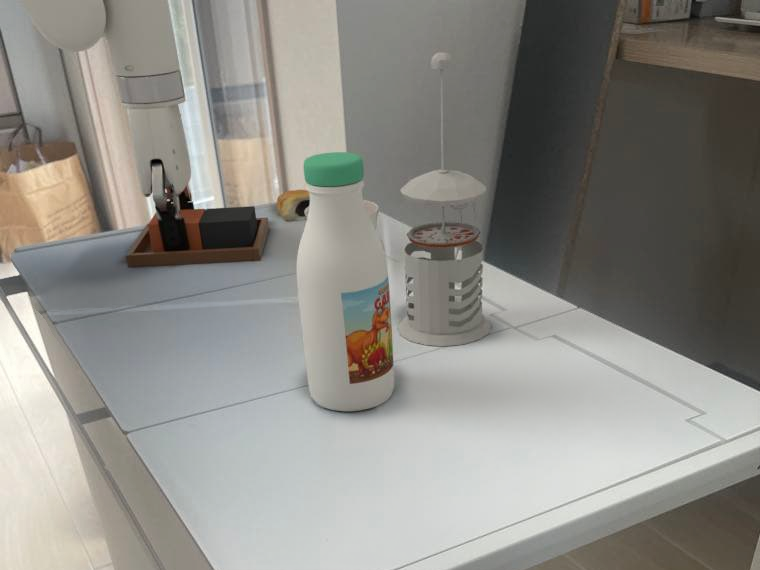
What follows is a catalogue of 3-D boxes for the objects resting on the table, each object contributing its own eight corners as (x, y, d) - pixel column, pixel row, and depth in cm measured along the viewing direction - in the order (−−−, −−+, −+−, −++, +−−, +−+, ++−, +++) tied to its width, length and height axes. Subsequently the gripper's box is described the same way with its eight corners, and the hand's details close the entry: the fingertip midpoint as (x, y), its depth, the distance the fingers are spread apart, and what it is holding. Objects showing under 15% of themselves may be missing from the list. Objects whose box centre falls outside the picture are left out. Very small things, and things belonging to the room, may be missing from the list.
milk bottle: (319, 420, 72) (291, 173, 60) (302, 382, 78) (274, 152, 66) (405, 405, 74) (394, 162, 62) (382, 370, 80) (368, 142, 68)
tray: (129, 272, 105) (125, 255, 104) (150, 239, 116) (146, 223, 115) (260, 265, 106) (258, 248, 104) (269, 232, 117) (267, 217, 115)
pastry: (268, 210, 126) (265, 183, 123) (311, 204, 128) (309, 178, 125) (286, 226, 119) (283, 198, 116) (331, 220, 121) (329, 192, 118)
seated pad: (204, 254, 108) (198, 222, 106) (211, 239, 113) (206, 208, 111) (254, 251, 108) (249, 219, 106) (258, 236, 113) (254, 205, 111)
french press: (381, 338, 86) (365, 59, 71) (427, 299, 94) (421, 41, 79) (471, 352, 82) (474, 61, 67) (510, 310, 91) (520, 42, 76)
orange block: (153, 256, 108) (147, 224, 106) (163, 241, 113) (157, 210, 111) (203, 254, 108) (198, 222, 106) (210, 239, 113) (205, 208, 111)
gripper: (135, 80, 106) (165, 224, 117) (102, 104, 93) (139, 266, 103) (194, 76, 107) (219, 221, 117) (170, 100, 93) (200, 262, 103)
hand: (181, 241), depth 110 cm, fingers closed on orange block, 6 cm apart
